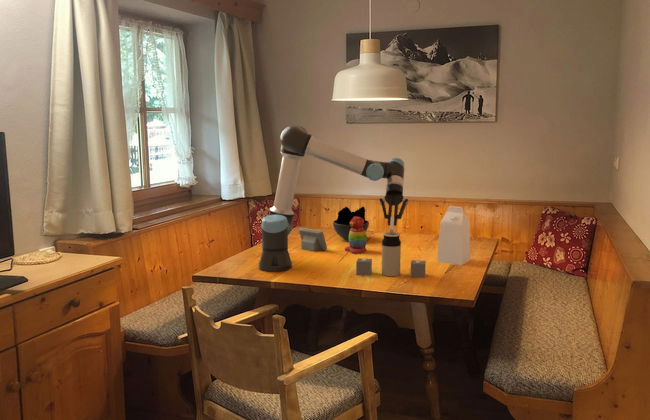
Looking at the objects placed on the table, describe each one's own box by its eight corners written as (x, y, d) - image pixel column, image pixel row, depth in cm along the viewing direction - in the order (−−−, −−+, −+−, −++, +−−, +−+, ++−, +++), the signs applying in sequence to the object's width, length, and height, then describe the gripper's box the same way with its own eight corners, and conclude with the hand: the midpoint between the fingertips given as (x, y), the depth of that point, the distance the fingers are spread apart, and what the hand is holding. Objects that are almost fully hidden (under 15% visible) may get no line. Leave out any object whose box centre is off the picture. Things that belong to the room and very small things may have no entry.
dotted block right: (424, 277, 249) (425, 263, 248) (410, 277, 250) (410, 263, 249) (425, 274, 255) (425, 260, 254) (411, 273, 256) (411, 259, 255)
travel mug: (390, 277, 249) (391, 236, 246) (377, 273, 255) (378, 233, 252) (403, 274, 254) (404, 234, 251) (391, 270, 260) (392, 231, 257)
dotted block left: (370, 275, 253) (370, 261, 252) (356, 275, 254) (356, 261, 253) (371, 272, 259) (371, 258, 258) (358, 271, 260) (358, 257, 259)
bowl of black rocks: (327, 241, 322) (327, 207, 319) (340, 235, 340) (340, 202, 337) (361, 244, 314) (362, 210, 311) (373, 237, 332) (373, 204, 330)
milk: (470, 260, 279) (472, 206, 275) (461, 265, 270) (463, 209, 266) (446, 256, 286) (448, 204, 282) (437, 261, 276) (438, 207, 272)
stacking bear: (343, 250, 302) (343, 216, 299) (360, 248, 306) (360, 214, 304) (353, 254, 292) (353, 219, 290) (371, 252, 297) (371, 217, 294)
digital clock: (328, 250, 301) (328, 230, 299) (314, 253, 296) (314, 232, 294) (310, 245, 314) (309, 225, 312) (296, 247, 308) (295, 227, 307)
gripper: (409, 193, 267) (407, 236, 253) (380, 193, 269) (377, 235, 255) (409, 182, 261) (406, 226, 247) (379, 182, 263) (375, 225, 249)
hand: (391, 231), depth 251 cm, fingers closed
